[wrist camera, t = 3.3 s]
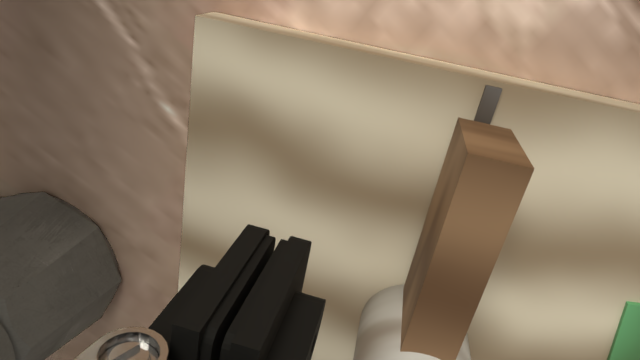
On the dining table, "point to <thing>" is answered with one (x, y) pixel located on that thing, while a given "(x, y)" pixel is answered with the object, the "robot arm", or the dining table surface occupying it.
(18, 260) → the coffeepot
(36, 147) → the dining table surface
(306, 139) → the dial board
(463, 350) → the dial
